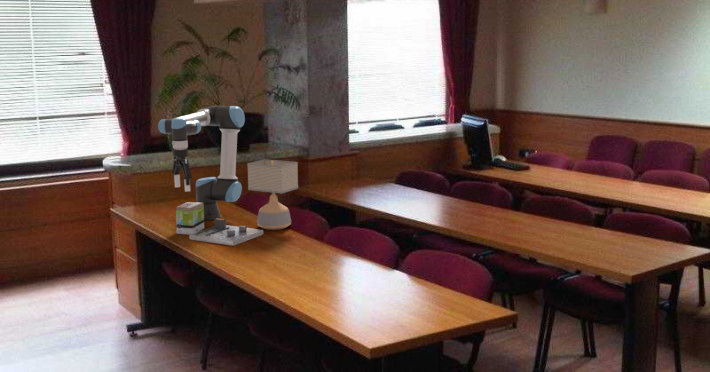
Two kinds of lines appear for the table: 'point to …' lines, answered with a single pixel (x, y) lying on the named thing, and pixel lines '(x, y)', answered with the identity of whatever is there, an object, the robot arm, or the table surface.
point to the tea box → (190, 217)
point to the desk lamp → (273, 190)
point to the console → (226, 235)
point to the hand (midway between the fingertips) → (182, 189)
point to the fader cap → (220, 223)
